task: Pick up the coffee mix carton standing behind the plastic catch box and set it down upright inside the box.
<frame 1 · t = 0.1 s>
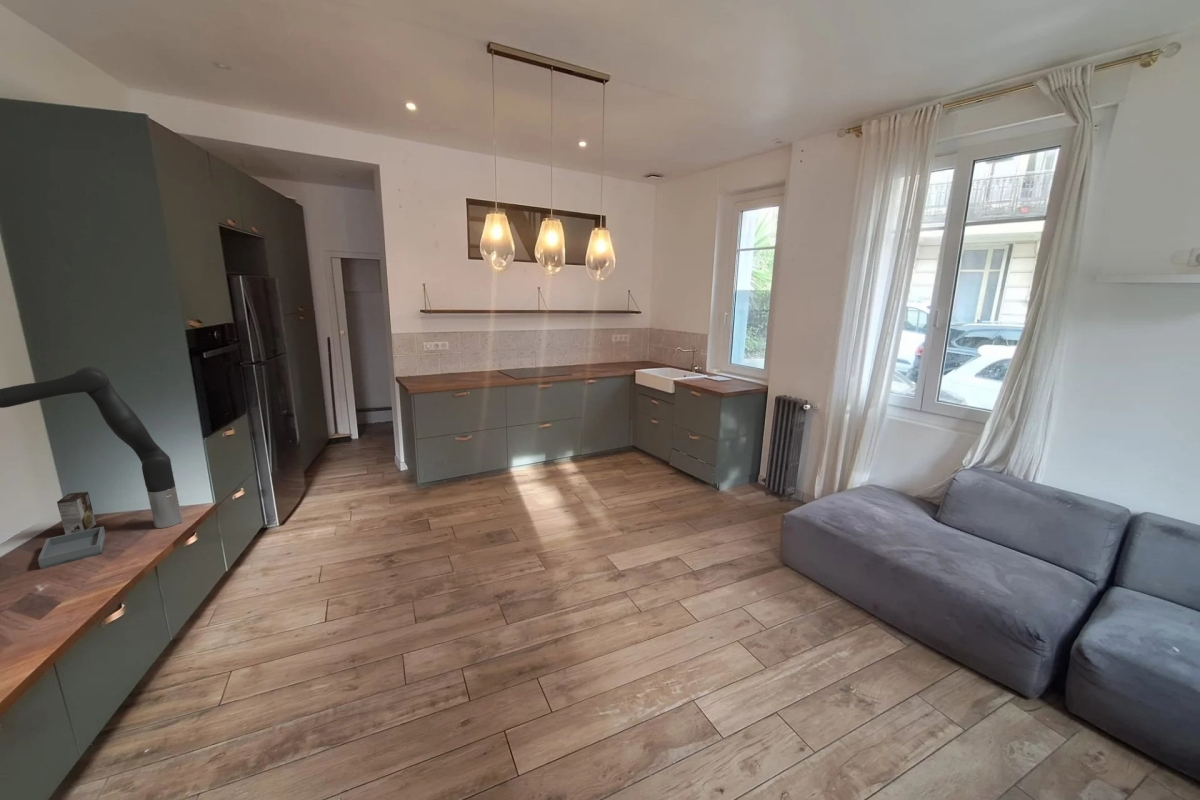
catch box: (75, 550, 186), on the counter
coffee box: (81, 530, 202), on the counter
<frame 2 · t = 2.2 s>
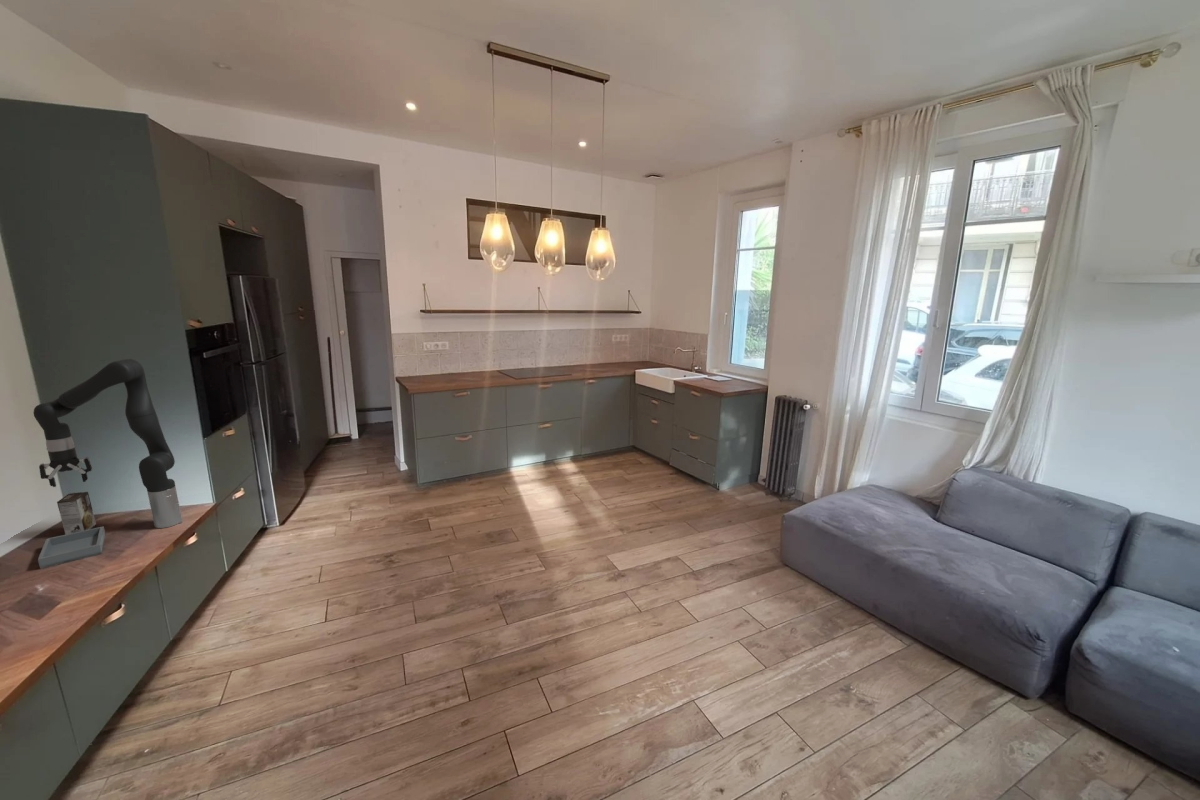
hand: (69, 483, 197), 22 cm above the counter, fingers open, 8 cm apart
nothing on the counter moved.
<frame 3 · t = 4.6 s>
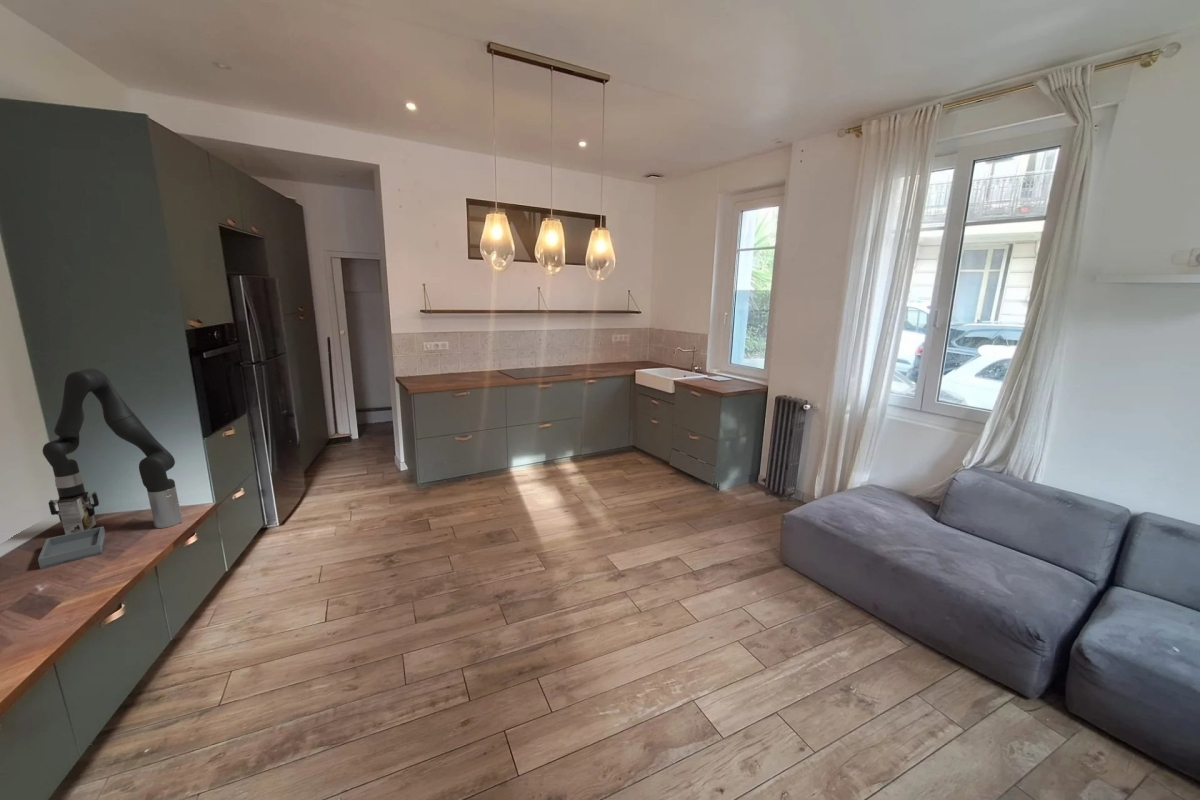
hand: (78, 518, 200), 5 cm above the counter, fingers closed on coffee box, 7 cm apart
coffee box: (81, 530, 202), on the counter, touching gripper
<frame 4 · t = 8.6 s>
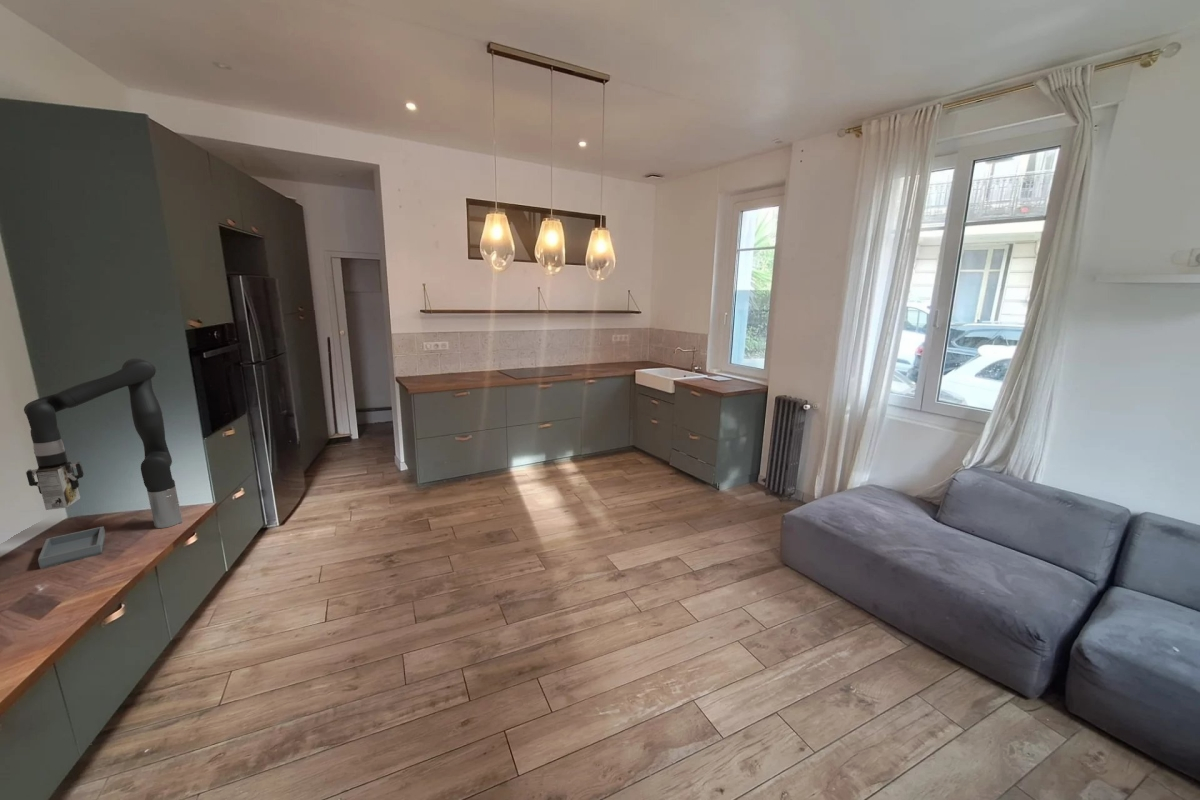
hand: (60, 491, 181), 26 cm above the counter, fingers closed on coffee box, 7 cm apart
coffee box: (63, 504, 182), point 20 cm above the counter, touching gripper
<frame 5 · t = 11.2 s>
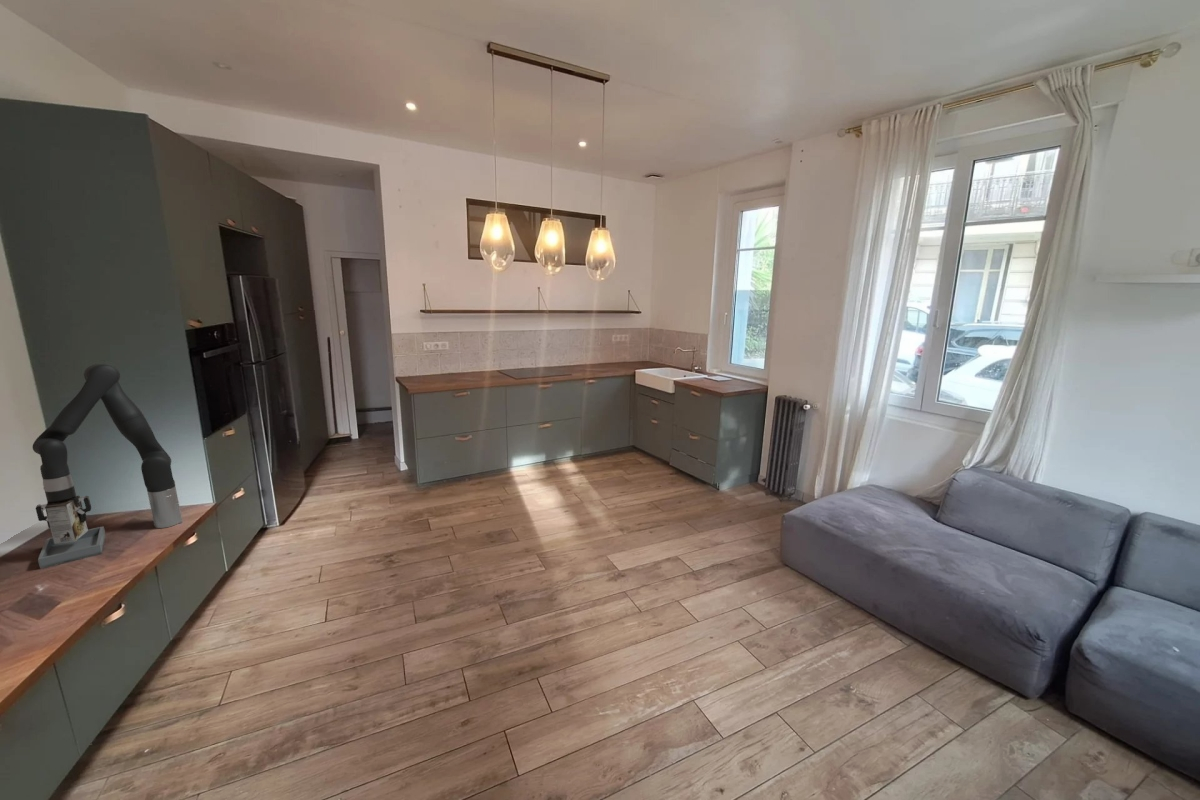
hand: (68, 525, 184), 11 cm above the counter, fingers closed on coffee box, 7 cm apart
coffee box: (71, 538, 185), point 6 cm above the counter, touching gripper
when the fingers open (8 cm above the counter, at t = 13.1 s): coffee box drops 1 cm, resting on catch box.
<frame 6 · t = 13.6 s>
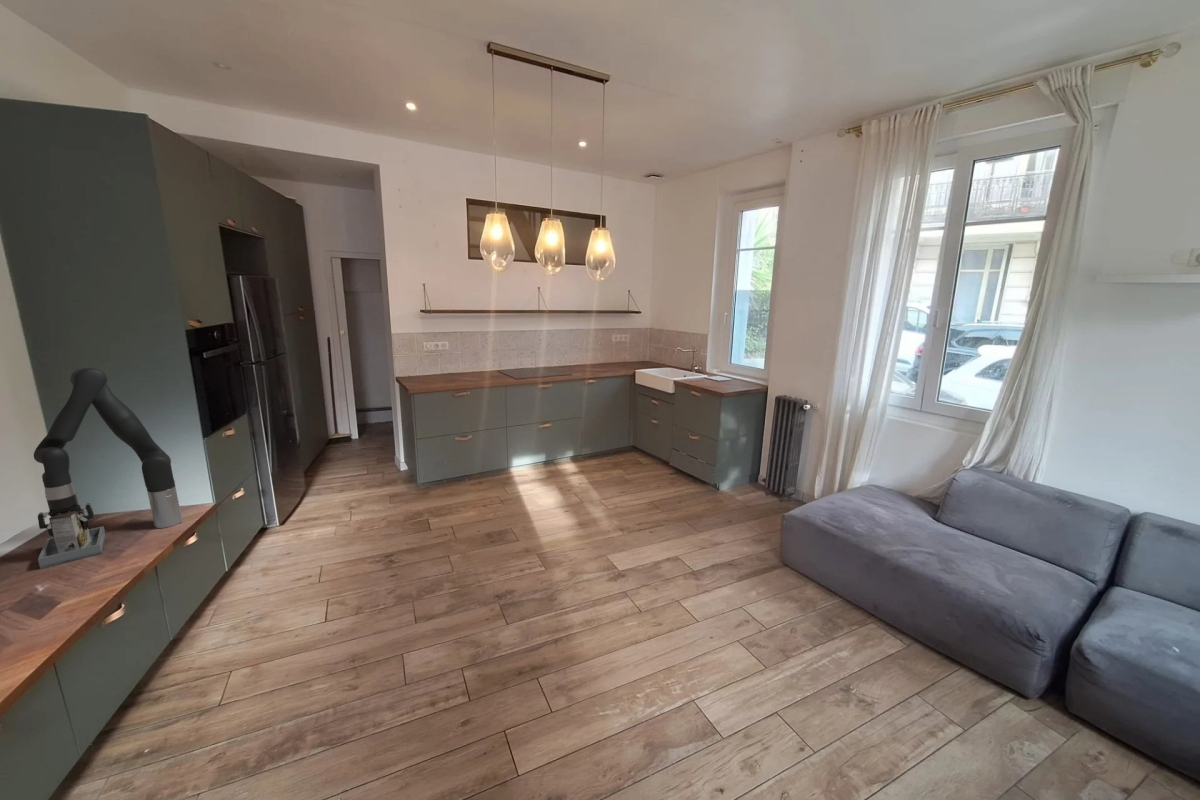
hand: (70, 532, 184), 8 cm above the counter, fingers open, 8 cm apart
coffee box: (75, 548, 186), point 1 cm above the counter, touching catch box
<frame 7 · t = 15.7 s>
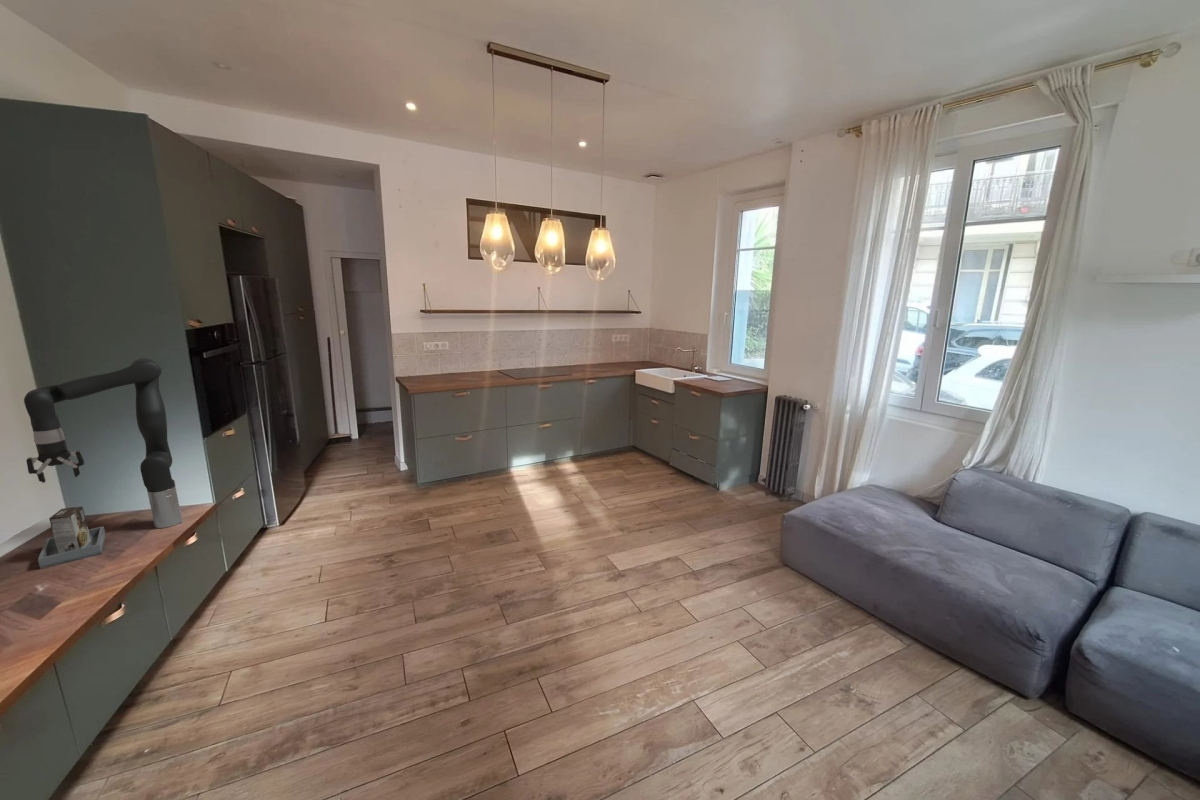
hand: (60, 479, 182), 30 cm above the counter, fingers open, 8 cm apart
nothing on the counter moved.
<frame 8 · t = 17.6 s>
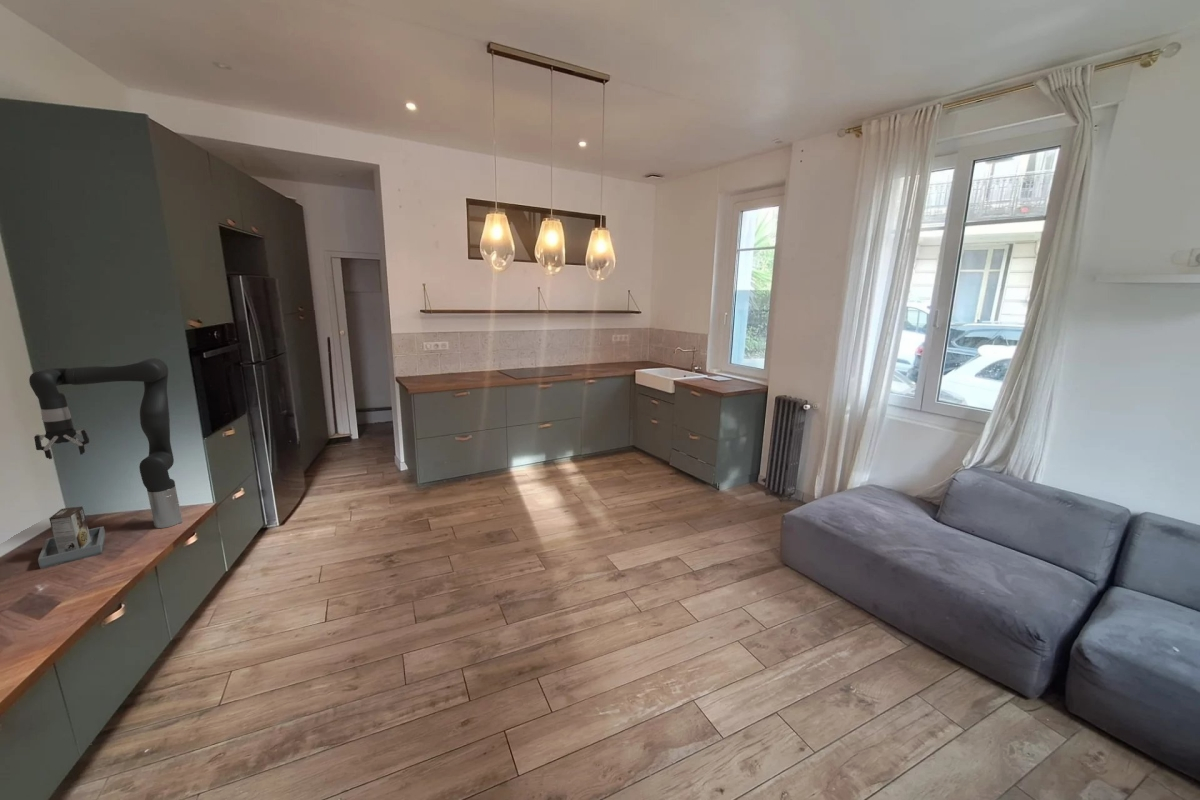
hand: (66, 456, 189), 36 cm above the counter, fingers open, 8 cm apart
nothing on the counter moved.
at the end: coffee box inside the target area on the catch box (0.2 cm from its centre), point 0.8 cm above the catch box's base; coffee box tilted 0°; the gripper is holding nothing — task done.
